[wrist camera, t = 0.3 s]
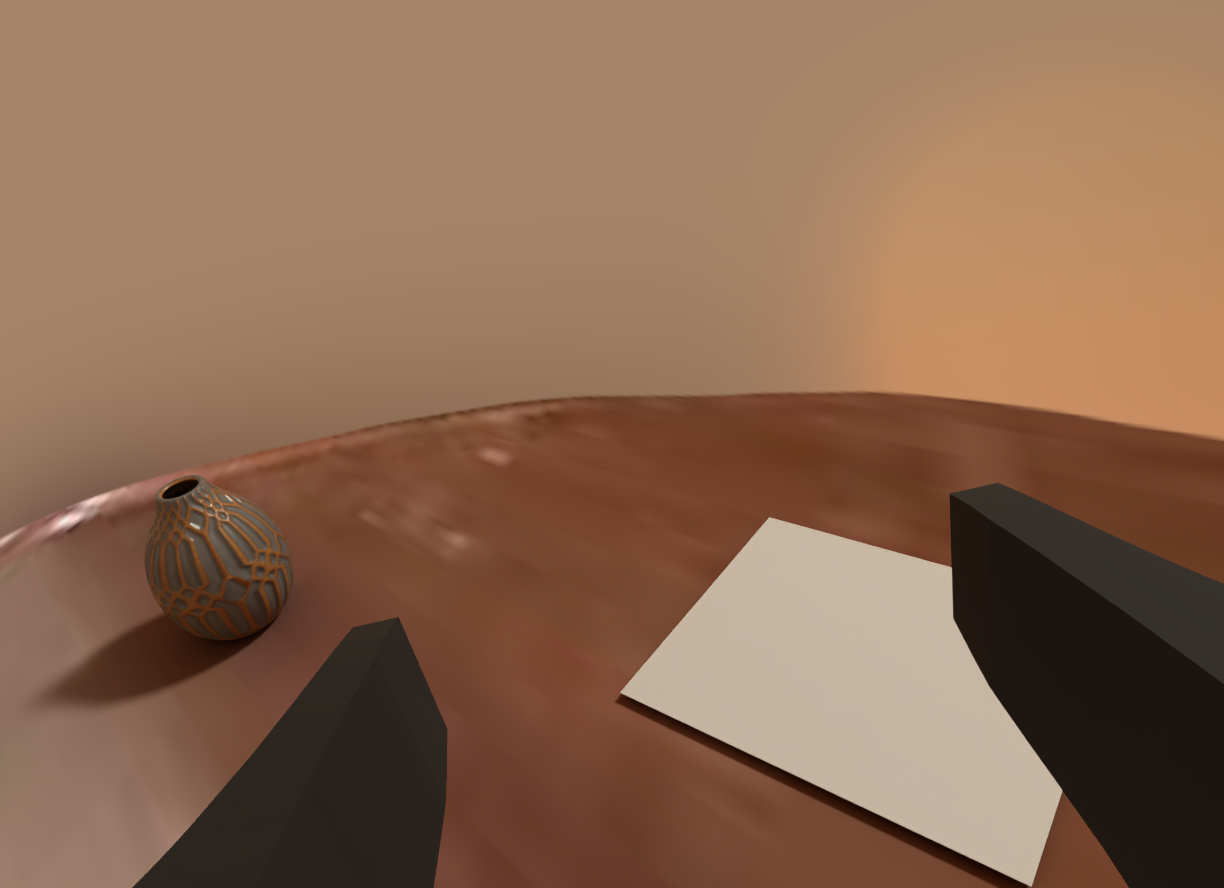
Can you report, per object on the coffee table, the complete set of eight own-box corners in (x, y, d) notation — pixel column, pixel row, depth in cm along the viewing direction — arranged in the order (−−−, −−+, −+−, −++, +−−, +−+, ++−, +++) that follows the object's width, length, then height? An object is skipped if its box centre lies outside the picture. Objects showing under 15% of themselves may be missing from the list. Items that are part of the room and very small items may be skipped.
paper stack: (840, 441, 51) (840, 432, 51) (1373, 550, 36) (1377, 538, 36) (622, 703, 36) (619, 692, 36) (1369, 1062, 22) (1376, 1049, 21)
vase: (332, 576, 48) (275, 450, 43) (261, 665, 42) (187, 531, 38) (236, 571, 50) (172, 450, 45) (156, 656, 44) (74, 527, 40)
